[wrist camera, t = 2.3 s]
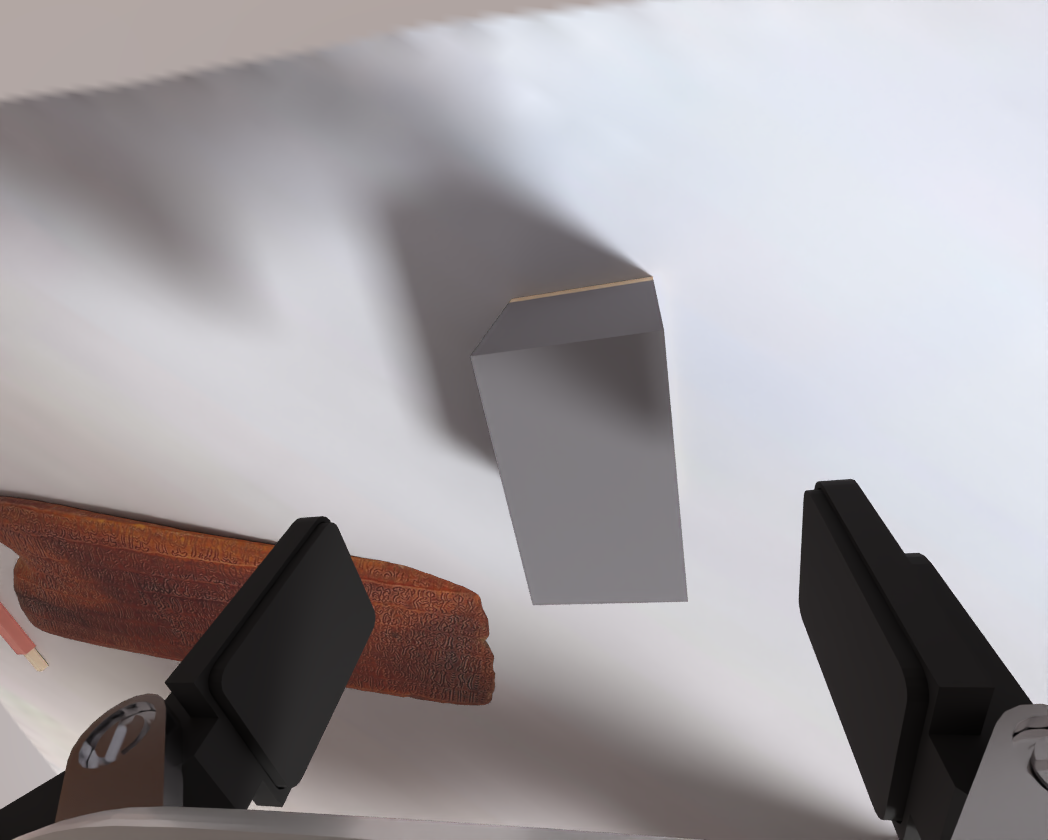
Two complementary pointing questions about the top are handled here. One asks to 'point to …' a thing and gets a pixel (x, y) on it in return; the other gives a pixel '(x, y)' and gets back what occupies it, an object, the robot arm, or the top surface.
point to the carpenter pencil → (19, 640)
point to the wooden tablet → (229, 598)
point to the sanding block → (586, 443)
